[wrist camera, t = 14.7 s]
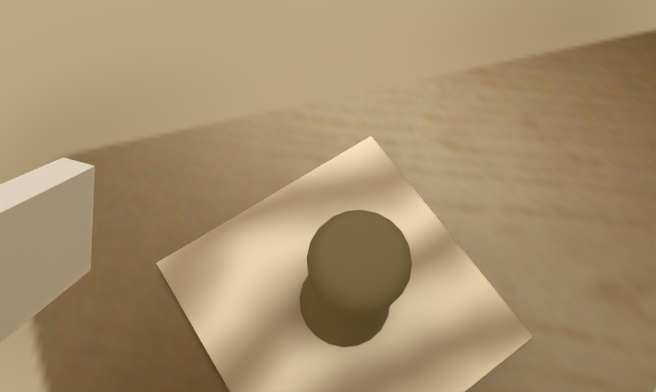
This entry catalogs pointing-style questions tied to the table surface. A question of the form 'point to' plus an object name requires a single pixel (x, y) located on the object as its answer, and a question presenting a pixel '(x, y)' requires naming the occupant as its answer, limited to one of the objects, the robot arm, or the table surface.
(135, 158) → the table surface
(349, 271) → the olive pawn
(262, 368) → the birch board
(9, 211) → the robot arm
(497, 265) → the table surface
